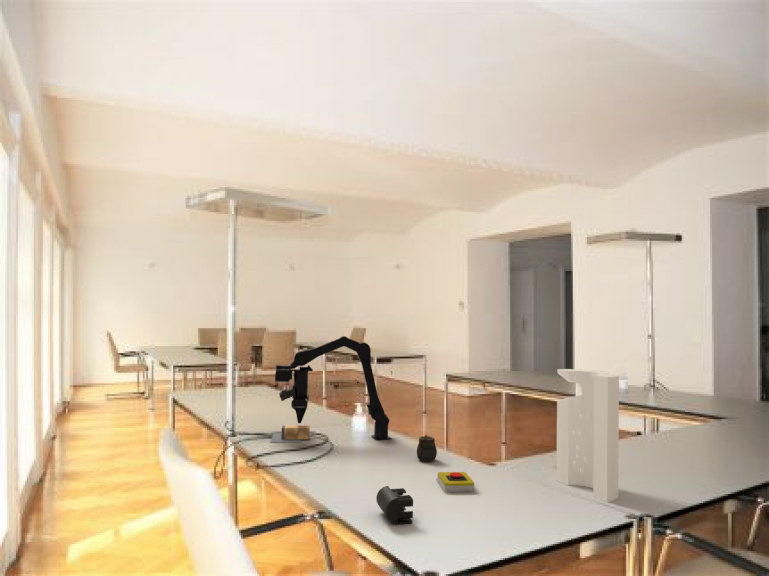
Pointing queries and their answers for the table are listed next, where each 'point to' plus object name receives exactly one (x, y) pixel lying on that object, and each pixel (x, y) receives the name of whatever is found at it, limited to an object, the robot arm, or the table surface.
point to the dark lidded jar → (426, 449)
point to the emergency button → (455, 483)
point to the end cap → (395, 505)
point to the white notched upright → (589, 433)
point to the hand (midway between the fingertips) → (299, 421)
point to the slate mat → (277, 439)
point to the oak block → (295, 432)
